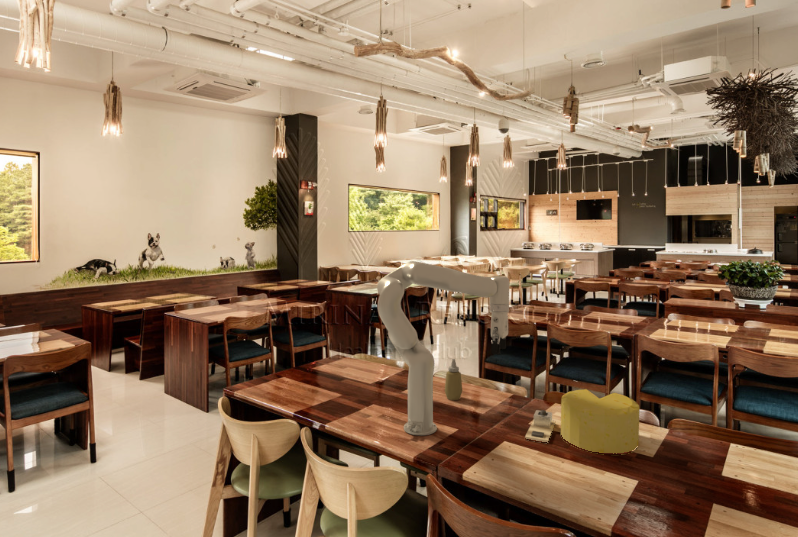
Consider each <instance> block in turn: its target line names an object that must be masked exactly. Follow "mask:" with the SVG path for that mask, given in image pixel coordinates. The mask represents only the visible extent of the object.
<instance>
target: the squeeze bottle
mask: <svg viewBox="0 0 798 537" xmlns="http://www.w3.org/2000/svg"><path fill="white" fill-rule="evenodd" d="M447 368H448V371H446V373H445V383H444V384H445V385H444V394H445V397H446V399H447V400H450V401H458V400H460V399H461V396H462V393H463V381H462V373H461V372H460V368H459V366H457V363H456V359H455V358H453V359H452V360H451V364H450V366H448V367H447Z"/></svg>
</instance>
